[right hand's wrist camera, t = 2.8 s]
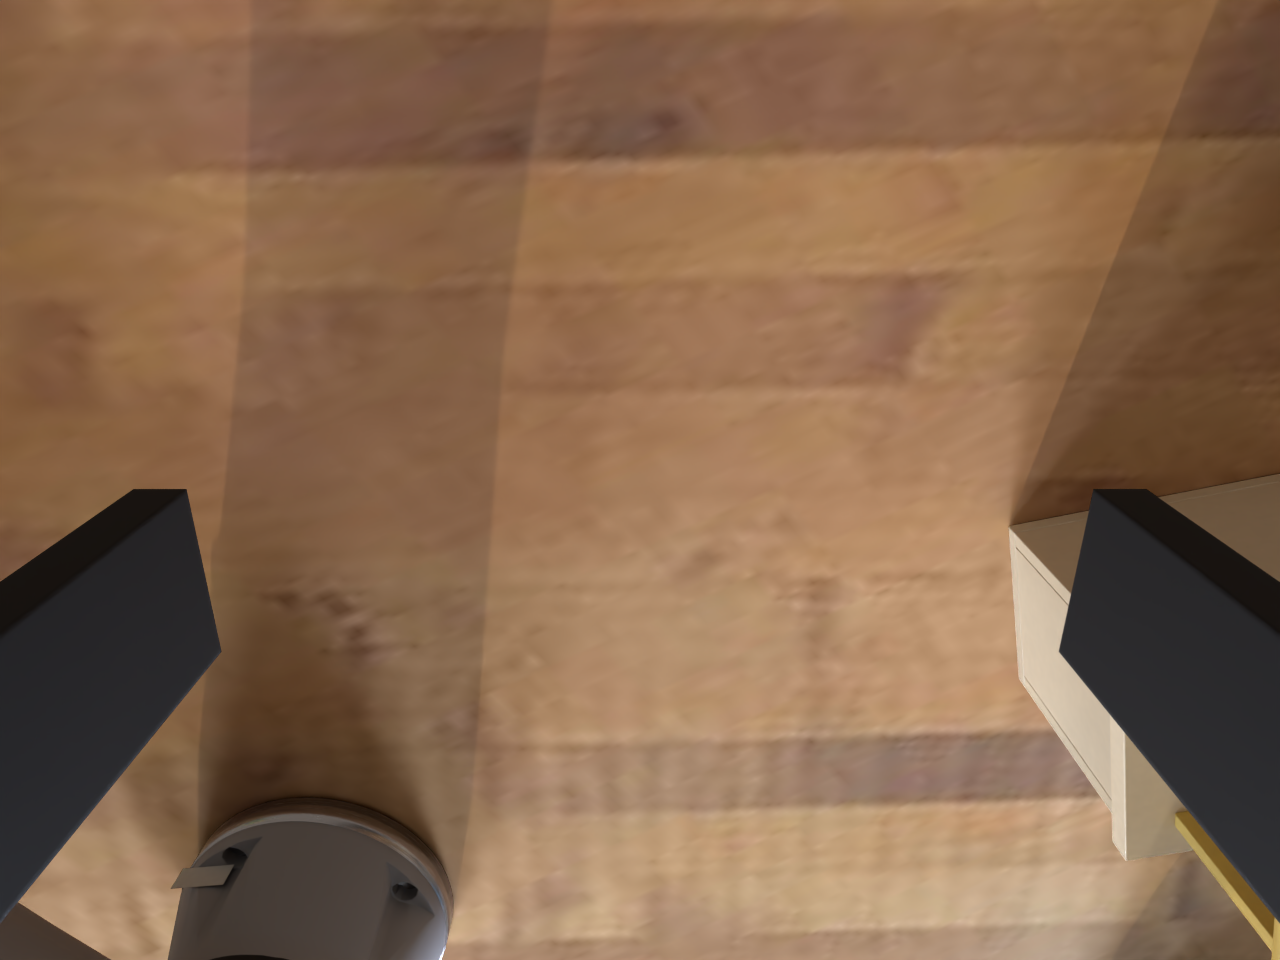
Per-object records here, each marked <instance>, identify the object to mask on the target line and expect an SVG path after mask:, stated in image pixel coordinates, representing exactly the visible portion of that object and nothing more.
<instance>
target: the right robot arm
mask: <svg viewBox="0 0 1280 960" xmlns="http://www.w3.org/2000/svg"><path fill="white" fill-rule="evenodd" d="M220 653H221V648H220V643H219V638H218V634H217V629H216V624H215V620H214V615H213V610H212V606H211V601H210V596H209V592H208V587H207V582H206V578H205V573H204V569H203V564H202V559H201V555H200V550H199V545H198V541H197V536H196V531H195V527H194V522H193V517H192V513H191V508H190V503H189V499H188V494H187V489H133V490H132V491H130V492H129V493H127V494H126V495H124V496H123V497H122V498H120V499H119V500H117V501H116V502H114V503H113V504H112V505H110V506H109V507H107V508H106V509H104V510H103V511H101V512H100V513H99V514H97V515H96V516H94V517H93V518H91V519H90V520H88V521H87V522H86V523H84V524H83V525H81V526H80V527H78V528H77V529H76V530H74V531H73V532H71V533H70V534H68V535H67V536H65V537H64V538H63V539H61V540H60V541H58V542H57V543H55V544H54V545H53V546H51V547H50V548H48V549H47V550H45V551H44V552H42V553H41V554H40V555H38V556H37V557H35V558H34V559H32V560H31V561H30V562H28V563H27V564H25V565H24V566H22V567H21V568H19V569H18V570H17V571H15V572H14V573H12V574H11V575H9V576H8V577H7V578H5V579H4V580H2V581H1V582H0V960H110V959H109V958H107V957H105V956H104V955H102V954H101V953H99V952H97V951H96V950H94V949H92V948H91V947H89V946H87V945H86V944H84V943H82V942H81V941H79V940H77V939H76V938H74V937H72V936H71V935H69V934H67V933H66V932H64V931H63V930H61V929H59V928H58V927H56V926H54V925H53V924H51V923H49V922H48V921H46V920H45V919H43V918H42V917H40V916H39V915H37V914H35V913H34V912H32V911H31V910H29V909H28V908H26V907H24V906H23V905H21V904H20V903H18V901H19V900H20V899H21V897H22V896H23V895H24V894H25V892H26V891H27V890H28V889H29V888H30V886H31V885H32V884H33V883H34V881H35V880H36V879H37V878H38V876H39V875H40V874H41V873H42V872H43V870H44V869H45V868H46V867H47V865H48V864H49V863H50V862H51V860H52V859H53V858H54V857H55V856H56V854H57V853H58V852H59V851H60V849H61V848H62V847H63V846H64V845H65V843H66V842H67V841H68V840H69V838H70V837H71V836H72V835H73V833H74V832H75V831H76V830H77V829H78V827H79V826H80V825H81V824H82V822H83V821H84V820H85V819H86V817H87V816H88V815H89V814H90V813H91V811H92V810H93V809H94V808H95V806H96V805H97V804H98V803H99V801H100V800H101V799H102V798H103V797H104V795H105V794H106V793H107V792H108V790H109V789H110V788H111V787H112V786H113V784H114V783H115V782H116V781H117V779H118V778H119V777H120V776H121V774H122V773H123V772H124V771H125V770H126V768H127V767H128V766H129V765H130V763H131V762H132V761H133V760H134V758H135V757H136V756H137V755H138V754H139V752H140V751H141V750H142V749H143V747H144V746H145V745H146V744H147V742H148V741H149V740H150V739H151V738H152V736H153V735H154V734H155V733H156V731H157V730H158V729H159V728H160V726H161V725H162V724H163V723H164V722H165V720H166V719H167V718H168V717H169V715H170V714H171V713H172V712H173V711H174V709H175V708H176V707H177V706H178V704H179V703H180V702H181V701H182V699H183V698H184V697H185V696H186V695H187V693H188V692H189V691H190V690H191V688H192V687H193V686H194V685H195V683H196V682H197V681H198V680H199V679H200V677H201V676H202V675H203V674H204V672H205V671H206V670H207V669H208V667H209V666H210V665H211V664H212V663H213V661H214V660H215V659H216V658H217V656H218V655H219V654H220ZM1059 653H1060V654H1061V655H1062V656H1063V658H1064V659H1065V660H1066V661H1067V663H1068V664H1069V665H1070V666H1071V667H1072V669H1073V670H1074V671H1075V672H1076V674H1077V675H1078V676H1079V677H1080V679H1081V680H1082V681H1083V682H1084V683H1085V685H1086V686H1087V687H1088V688H1089V690H1090V691H1091V692H1092V693H1093V695H1094V696H1095V697H1096V698H1097V699H1098V701H1099V702H1100V703H1101V704H1102V706H1103V707H1104V708H1105V709H1106V711H1107V712H1108V713H1109V714H1110V715H1111V717H1112V718H1113V719H1114V720H1115V722H1116V723H1117V724H1118V725H1119V726H1120V728H1121V729H1122V730H1123V731H1124V733H1125V734H1126V735H1127V736H1128V738H1129V739H1130V740H1131V741H1132V742H1133V744H1134V745H1135V746H1136V747H1137V749H1138V750H1139V751H1140V752H1141V754H1142V755H1143V756H1144V757H1145V758H1146V760H1147V761H1148V762H1149V763H1150V765H1151V766H1152V767H1153V768H1154V770H1155V771H1156V772H1157V773H1158V774H1159V776H1160V777H1161V778H1162V779H1163V781H1164V782H1165V783H1166V784H1167V786H1168V787H1169V788H1170V789H1171V790H1172V792H1173V793H1174V794H1175V795H1176V797H1177V798H1178V799H1179V800H1180V801H1181V803H1182V804H1183V805H1184V806H1185V808H1186V809H1187V810H1188V811H1189V813H1190V814H1191V815H1192V816H1193V817H1194V819H1195V820H1196V821H1197V822H1198V824H1199V825H1200V826H1201V827H1202V829H1203V830H1204V831H1205V832H1206V833H1207V835H1208V836H1209V837H1210V838H1211V840H1212V841H1213V842H1214V843H1215V845H1216V846H1217V847H1218V848H1219V849H1220V851H1221V852H1222V853H1223V854H1224V856H1225V857H1226V858H1227V859H1228V860H1229V862H1230V863H1231V864H1232V865H1233V867H1234V868H1235V869H1236V870H1237V872H1238V873H1239V874H1240V875H1241V876H1242V878H1243V879H1244V880H1245V881H1246V883H1247V884H1248V885H1249V886H1250V888H1251V889H1252V890H1253V891H1254V892H1255V894H1256V895H1257V896H1258V897H1259V899H1260V900H1261V901H1262V902H1263V904H1264V905H1265V906H1266V907H1267V908H1268V910H1269V911H1270V912H1271V913H1272V915H1273V916H1274V917H1275V918H1276V920H1277V921H1278V922H1279V923H1280V582H1279V581H1278V580H1276V579H1275V578H1273V577H1272V576H1271V575H1269V574H1268V573H1266V572H1265V571H1263V570H1262V569H1261V568H1259V567H1258V566H1256V565H1255V564H1253V563H1252V562H1250V561H1249V560H1248V559H1246V558H1245V557H1243V556H1242V555H1240V554H1239V553H1238V552H1236V551H1235V550H1233V549H1232V548H1230V547H1229V546H1227V545H1226V544H1225V543H1223V542H1222V541H1220V540H1219V539H1217V538H1216V537H1215V536H1213V535H1212V534H1210V533H1209V532H1207V531H1206V530H1204V529H1203V528H1202V527H1200V526H1199V525H1197V524H1196V523H1194V522H1193V521H1192V520H1190V519H1189V518H1187V517H1186V516H1184V515H1183V514H1181V513H1180V512H1179V511H1177V510H1176V509H1174V508H1173V507H1171V506H1170V505H1168V504H1167V503H1166V502H1164V501H1163V500H1161V499H1160V498H1158V497H1157V496H1156V495H1154V494H1153V493H1151V492H1150V491H1148V490H1147V489H1093V494H1092V499H1091V503H1090V508H1089V513H1088V517H1087V522H1086V527H1085V531H1084V536H1083V541H1082V545H1081V550H1080V555H1079V559H1078V564H1077V569H1076V573H1075V578H1074V582H1073V587H1072V592H1071V596H1070V601H1069V606H1068V610H1067V615H1066V620H1065V624H1064V629H1063V634H1062V638H1061V643H1060V648H1059ZM174 888H182V893H181V897H180V901H179V906H178V911H177V916H176V921H175V926H174V931H173V936H172V941H171V946H170V951H169V956H168V960H441V958H442V956H443V953H444V950H445V947H446V943H447V939H448V935H449V931H450V926H451V922H452V917H453V895H452V890H451V886H450V883H449V880H448V877H447V875H446V873H445V871H444V869H443V867H442V866H441V864H440V862H439V861H438V859H437V858H436V857H435V855H434V854H433V853H432V851H431V850H430V849H429V848H428V847H427V846H426V845H425V844H424V843H423V842H422V841H421V840H420V839H419V838H418V837H417V836H415V835H414V834H413V833H412V832H410V831H409V830H408V829H406V828H405V827H403V826H402V825H400V824H399V823H397V822H395V821H394V820H392V819H390V818H388V817H386V816H384V815H382V814H380V813H378V812H375V811H373V810H370V809H368V808H365V807H362V806H359V805H355V804H351V803H347V802H343V801H338V800H332V799H323V798H289V799H282V800H275V801H271V802H267V803H263V804H260V805H257V806H254V807H251V808H249V809H247V810H244V811H242V812H240V813H239V814H237V815H235V816H233V817H232V818H230V819H229V820H228V821H226V822H225V823H223V824H222V825H221V826H220V827H219V828H218V829H217V830H216V831H215V832H214V833H213V834H212V835H211V837H210V838H209V839H208V841H207V842H206V844H205V845H204V847H203V848H202V850H201V852H200V853H199V855H198V856H197V858H196V860H195V861H194V863H193V865H192V866H191V868H185V869H183V870H182V871H181V873H180V875H179V876H178V878H177V879H176V881H175V882H174V884H173V886H172V887H171V889H174Z"/></svg>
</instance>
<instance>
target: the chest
mask: <svg viewBox="0 0 1280 960" xmlns="http://www.w3.org/2000/svg"><path fill="white" fill-rule="evenodd" d="M1158 498H1160V499H1161V500H1163V501H1164V502H1166V503H1167V504H1168V505H1170V506H1171V507H1173V508H1174V509H1176V510H1177V511H1179V512H1180V513H1181V514H1183V515H1184V516H1186V517H1187V518H1189V519H1190V520H1192V521H1193V522H1194V523H1196V524H1197V525H1199V526H1200V527H1202V528H1203V529H1204V530H1206V531H1207V532H1209V533H1210V534H1212V535H1213V536H1215V537H1216V538H1217V539H1219V540H1220V541H1222V542H1223V543H1225V544H1226V545H1227V546H1229V547H1230V548H1232V549H1233V550H1235V551H1236V552H1238V553H1239V554H1240V555H1242V556H1243V557H1245V558H1246V559H1248V560H1249V561H1250V562H1252V563H1253V564H1255V565H1256V566H1258V567H1259V568H1261V569H1262V570H1263V571H1265V572H1266V573H1268V574H1269V575H1271V576H1272V577H1273V578H1275V579H1276V580H1278V581H1279V582H1280V474H1275V475H1270V476H1265V477H1260V478H1255V479H1250V480H1244V481H1239V482H1234V483H1229V484H1224V485H1219V486H1213V487H1208V488H1203V489H1198V490H1193V491H1188V492H1182V493H1177V494H1172V495H1167V496H1162V497H1158ZM1088 513H1089V511H1084V512H1079V513H1074V514H1069V515H1064V516H1059V517H1053V518H1048V519H1043V520H1038V521H1033V522H1028V523H1022V524H1017V525H1012V526H1009V540H1010V555H1011V570H1012V584H1013V599H1014V614H1015V629H1016V644H1017V658H1018V673H1019V680H1020V681H1021V682H1022V684H1023V685H1024V687H1025V688H1026V690H1027V691H1028V693H1029V694H1030V696H1031V697H1032V698H1033V700H1034V701H1035V703H1036V704H1037V706H1038V707H1039V709H1040V710H1041V711H1042V713H1043V714H1044V716H1045V717H1046V719H1047V720H1048V722H1049V723H1050V724H1051V726H1052V727H1053V729H1054V730H1055V732H1056V733H1057V735H1058V736H1059V737H1060V739H1061V740H1062V742H1063V743H1064V745H1065V746H1066V748H1067V749H1068V751H1069V752H1070V753H1071V755H1072V756H1073V758H1074V759H1075V761H1076V762H1077V764H1078V765H1079V766H1080V768H1081V769H1082V771H1083V772H1084V774H1085V775H1086V777H1087V778H1088V779H1089V781H1090V782H1091V784H1092V785H1093V787H1094V788H1095V790H1096V791H1097V793H1098V794H1099V795H1100V797H1101V798H1102V800H1103V801H1104V803H1105V804H1106V806H1107V807H1108V808H1109V810H1110V811H1111V813H1112V800H1111V751H1110V714H1109V713H1108V712H1107V711H1106V709H1105V708H1104V707H1103V706H1102V704H1101V703H1100V702H1099V701H1098V699H1097V698H1096V697H1095V696H1094V695H1093V693H1092V692H1091V691H1090V690H1089V688H1088V687H1087V686H1086V685H1085V683H1084V682H1083V681H1082V680H1081V679H1080V677H1079V676H1078V675H1077V674H1076V672H1075V671H1074V670H1073V669H1072V667H1071V666H1070V665H1069V664H1068V663H1067V661H1066V660H1065V659H1064V658H1063V656H1062V655H1061V654H1060V653H1059V648H1060V643H1061V638H1062V634H1063V629H1064V624H1065V620H1066V615H1067V610H1068V606H1069V601H1070V596H1071V592H1072V587H1073V582H1074V578H1075V573H1076V569H1077V564H1078V559H1079V555H1080V550H1081V545H1082V541H1083V536H1084V531H1085V527H1086V522H1087V517H1088Z"/></svg>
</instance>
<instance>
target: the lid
mask: <svg viewBox="0 0 1280 960" xmlns="http://www.w3.org/2000/svg"><path fill="white" fill-rule="evenodd" d="M1110 751H1111V800H1112V841H1113V843H1114V844H1115V846H1116V847H1117V849H1118V850H1119V852H1120V853H1121V855H1122V856H1123V858H1124V859H1125V860H1126V861H1129V860H1136V859H1142V858H1148V857H1155V856H1161V855H1167V854H1174V853H1180V852H1186V851H1192V850H1194V851H1195V852H1196V854H1197V855H1198V856H1199V858H1200V859H1201V860H1202V862H1203V863H1204V864H1205V865H1206V867H1207V868H1208V869H1209V871H1210V872H1211V873H1212V875H1213V876H1214V877H1215V878H1216V880H1217V881H1218V882H1219V884H1220V885H1221V886H1222V888H1223V889H1224V890H1225V891H1226V893H1227V894H1228V895H1229V897H1230V898H1231V899H1232V901H1233V902H1234V903H1235V904H1236V906H1237V907H1238V908H1239V910H1240V911H1241V912H1242V914H1243V915H1244V916H1245V917H1246V919H1247V920H1248V921H1249V923H1250V924H1251V925H1252V927H1253V928H1254V929H1255V930H1256V932H1257V933H1258V934H1259V936H1260V937H1261V938H1262V940H1263V941H1264V942H1265V943H1266V945H1267V946H1268V947H1269V949H1270V950H1271V951H1272V958H1271V960H1280V923H1279V922H1278V921H1277V920H1276V918H1275V917H1274V916H1273V915H1272V913H1271V912H1270V911H1269V910H1268V908H1267V907H1266V906H1265V905H1264V904H1263V902H1262V901H1261V900H1260V899H1259V897H1258V896H1257V895H1256V894H1255V892H1254V891H1253V890H1252V889H1251V888H1250V886H1249V885H1248V884H1247V883H1246V881H1245V880H1244V879H1243V878H1242V876H1241V875H1240V874H1239V873H1238V872H1237V870H1236V869H1235V868H1234V867H1233V865H1232V864H1231V863H1230V862H1229V860H1228V859H1227V858H1226V857H1225V856H1224V854H1223V853H1222V852H1221V851H1220V849H1219V848H1218V847H1217V846H1216V845H1215V843H1214V842H1213V841H1212V840H1211V838H1210V837H1209V836H1208V835H1207V833H1206V832H1205V831H1204V830H1203V829H1202V827H1201V826H1200V825H1199V824H1198V822H1197V821H1196V820H1195V819H1194V817H1193V816H1192V815H1191V814H1190V813H1189V811H1188V810H1187V809H1186V808H1185V806H1184V805H1183V804H1182V803H1181V801H1180V800H1179V799H1178V798H1177V797H1176V795H1175V794H1174V793H1173V792H1172V790H1171V789H1170V788H1169V787H1168V786H1167V784H1166V783H1165V782H1164V781H1163V779H1162V778H1161V777H1160V776H1159V774H1158V773H1157V772H1156V771H1155V770H1154V768H1153V767H1152V766H1151V765H1150V763H1149V762H1148V761H1147V760H1146V758H1145V757H1144V756H1143V755H1142V754H1141V752H1140V751H1139V750H1138V749H1137V747H1136V746H1135V745H1134V744H1133V742H1132V741H1131V740H1130V739H1129V738H1128V736H1127V735H1126V734H1125V733H1124V731H1123V730H1122V729H1121V728H1120V726H1119V725H1118V724H1117V723H1116V722H1115V720H1114V719H1113V718H1112V717H1111V715H1110Z"/></svg>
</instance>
